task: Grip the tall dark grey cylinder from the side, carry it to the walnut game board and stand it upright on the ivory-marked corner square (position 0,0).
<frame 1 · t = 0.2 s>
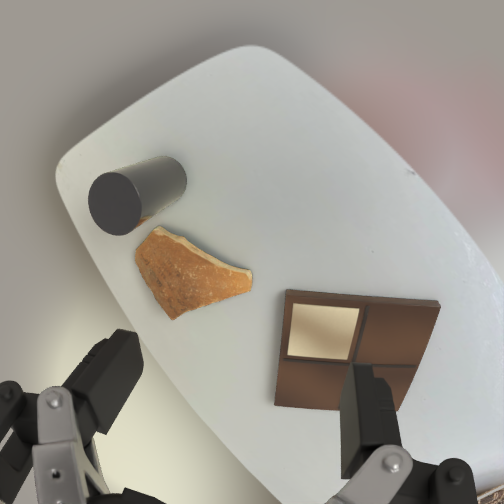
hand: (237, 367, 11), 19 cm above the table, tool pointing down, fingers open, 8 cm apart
pottery shard: (190, 263, 32), on the table
dark grey cylinder: (164, 180, 29), on the table
board: (351, 357, 34), on the table
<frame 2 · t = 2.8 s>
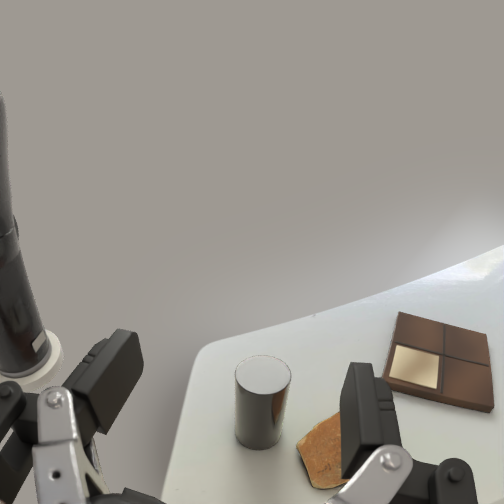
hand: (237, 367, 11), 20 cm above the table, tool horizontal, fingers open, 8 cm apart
pottery shard: (342, 444, 28), on the table
dark grey cylinder: (258, 431, 29), on the table
board: (440, 361, 37), on the table
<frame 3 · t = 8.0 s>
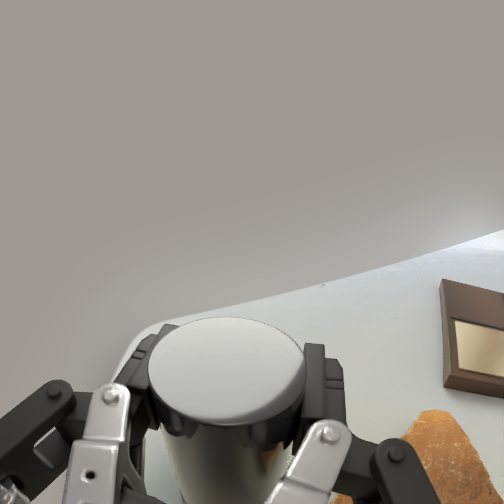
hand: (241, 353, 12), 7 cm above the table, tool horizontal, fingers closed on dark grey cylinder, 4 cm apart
pottery shard: (400, 502, 11), on the table
dark grey cylinder: (229, 489, 12), on the table, touching gripper
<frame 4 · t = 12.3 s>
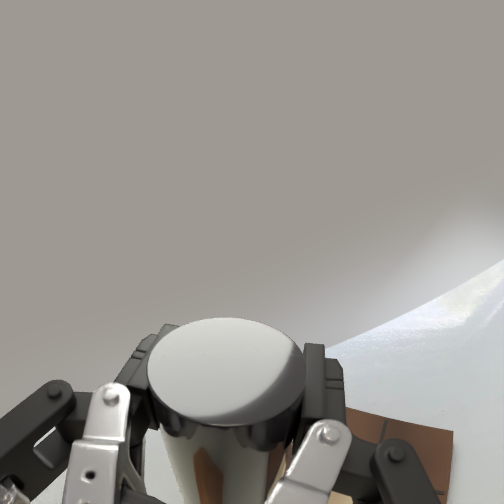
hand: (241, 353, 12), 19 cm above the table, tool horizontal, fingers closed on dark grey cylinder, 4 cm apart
dark grey cylinder: (229, 489, 12), point 12 cm above the table, touching gripper
board: (365, 485, 22), on the table
when the fingers open (8 cm above the table, at t = 16.5 s): dark grey cylinder stays where it is, resting on board.
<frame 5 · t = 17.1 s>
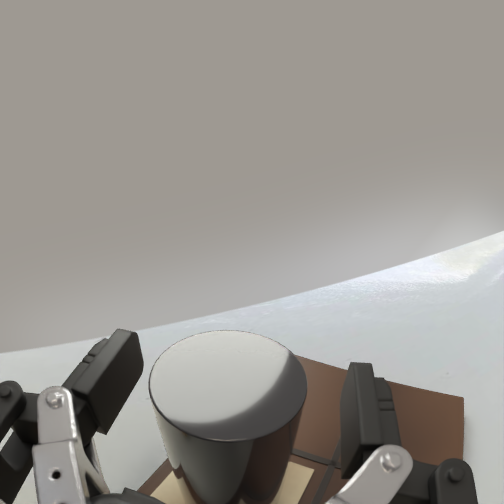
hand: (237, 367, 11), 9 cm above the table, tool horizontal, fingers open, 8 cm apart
dark grey cylinder: (231, 495, 12), point 1 cm above the table, touching board
board: (328, 473, 15), on the table
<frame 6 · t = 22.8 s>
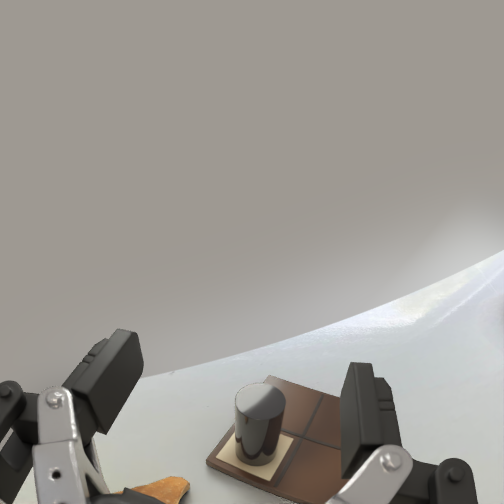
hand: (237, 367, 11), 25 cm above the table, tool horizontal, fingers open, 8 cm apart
dark grey cylinder: (256, 449, 31), point 1 cm above the table, touching board
board: (301, 441, 33), on the table
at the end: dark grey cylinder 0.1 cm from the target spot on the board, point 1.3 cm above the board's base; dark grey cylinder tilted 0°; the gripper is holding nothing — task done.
